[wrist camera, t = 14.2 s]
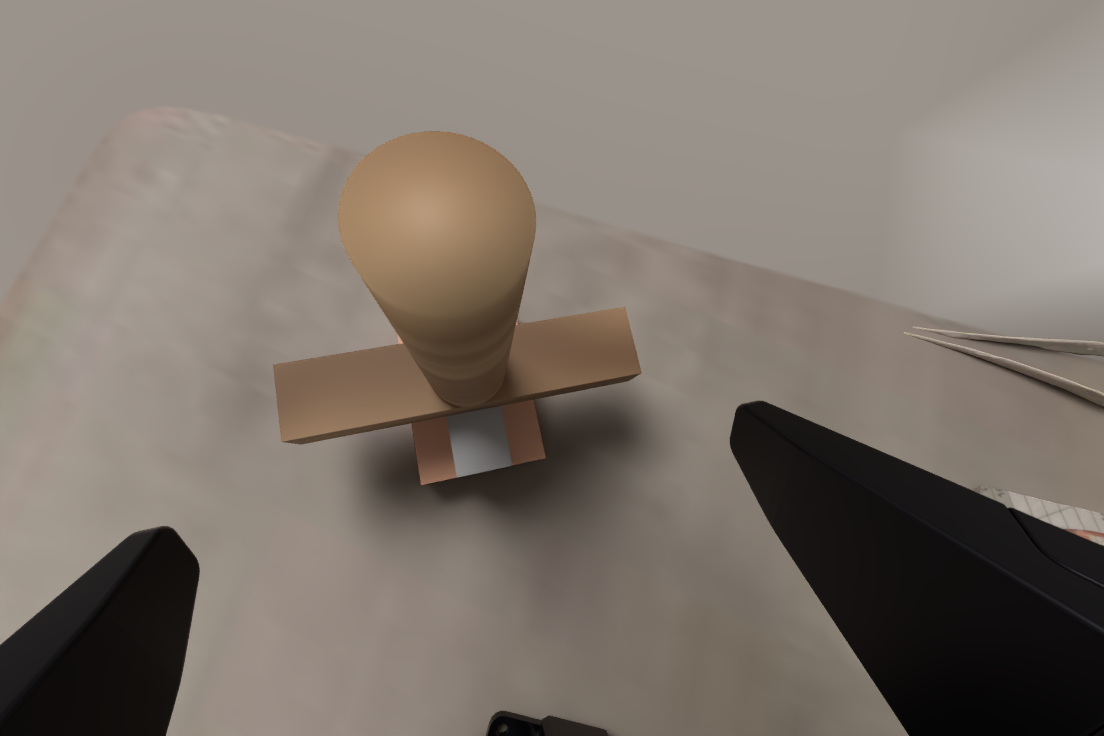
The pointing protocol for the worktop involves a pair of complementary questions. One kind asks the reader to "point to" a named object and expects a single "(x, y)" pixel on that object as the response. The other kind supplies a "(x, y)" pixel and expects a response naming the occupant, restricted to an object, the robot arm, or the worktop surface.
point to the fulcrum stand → (477, 441)
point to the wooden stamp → (445, 299)
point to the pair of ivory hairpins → (1050, 344)
